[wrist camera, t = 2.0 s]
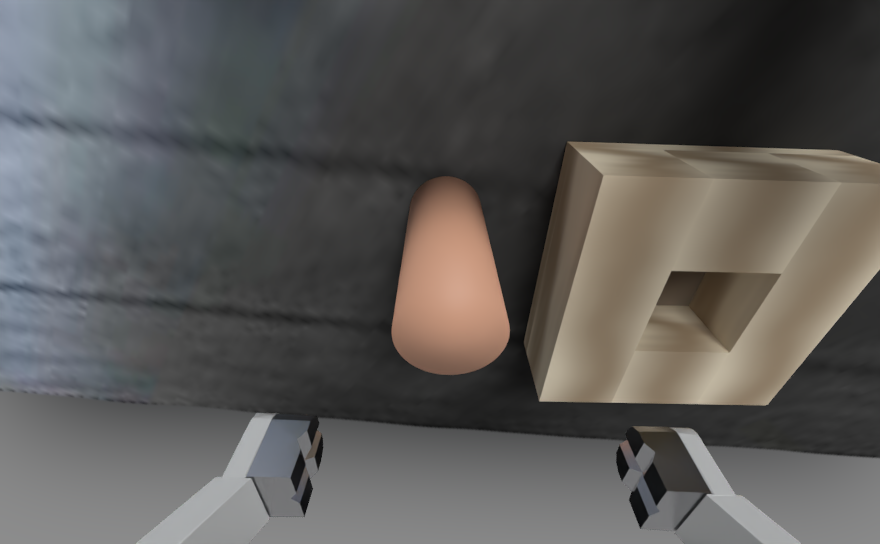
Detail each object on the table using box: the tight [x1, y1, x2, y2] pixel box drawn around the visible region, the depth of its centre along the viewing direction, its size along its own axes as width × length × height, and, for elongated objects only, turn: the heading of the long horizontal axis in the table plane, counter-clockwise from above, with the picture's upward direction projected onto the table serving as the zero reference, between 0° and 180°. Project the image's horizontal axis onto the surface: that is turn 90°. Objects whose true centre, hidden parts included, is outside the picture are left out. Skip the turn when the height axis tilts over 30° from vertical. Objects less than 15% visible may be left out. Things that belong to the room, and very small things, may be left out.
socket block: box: [524, 142, 880, 405], centre depth 21 cm, size 14×14×5 cm
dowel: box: [392, 176, 510, 375], centre depth 17 cm, size 4×4×10 cm
